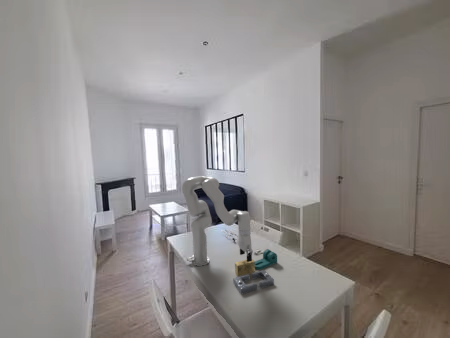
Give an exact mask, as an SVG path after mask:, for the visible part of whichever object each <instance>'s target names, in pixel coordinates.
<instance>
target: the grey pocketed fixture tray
mask: <svg viewBox="0 0 450 338" xmlns="http://www.w3.org/2000/svg"><path fill="white" fill-rule="evenodd" d="M250 274H251V276H250ZM250 278H251V279H252V280H255V279H257V278H258V279H259V278H262V281H259V283H258V284H257V282H255V283H252V284H248V285H246V283H245V282H246V281H250ZM232 279H233V280H232V282H233V285H234V287H235V288H236V289H237V291H239V294H241V295H243V294H247V293H249V292H253V291H256V290H258V287H259V289H262V288H267V287H270V286H273V285H274V284H275V281H274V278H273V277H272V276H271V275H270V274H269V272H267V271H266V270H265V269H261V270H257V271H255V272H252V273H249V274H245V275H241V276H236V277H233V278H232Z"/></svg>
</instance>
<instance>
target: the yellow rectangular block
mask: <svg viewBox="0 0 450 338" xmlns="http://www.w3.org/2000/svg"><path fill="white" fill-rule="evenodd" d="M255 261H256V260H254V259H253V258H252V261H250V262H247V259H245V260H240V261H236V262H234V274H235V275H236V277H239V276H243V275H247V274H249V275H250V274H251V273H254V272H256V270H255Z"/></svg>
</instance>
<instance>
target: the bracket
mask: <svg viewBox="0 0 450 338" xmlns="http://www.w3.org/2000/svg"><path fill="white" fill-rule="evenodd" d="M254 261H255V271H262V270H264V269H265V268H267V267H270V266H272V265H275V264H277V263H278V255H277V253H276V252H274V251H272V250H271V249H268V248H267V249H265V250H264V251H263V254H262V258H261V259H258V260H254Z"/></svg>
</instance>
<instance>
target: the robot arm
mask: <svg viewBox="0 0 450 338" xmlns="http://www.w3.org/2000/svg"><path fill="white" fill-rule="evenodd" d="M219 187H220V182H219V180H218V179H217V178H215V177H211V176H203V175H199V176H192V177H189V178H187V179H185V180H184V182H183V183H182V186H181V191H182V195H183V196H184V199H185V203H186V206H187V210H188V213H189V215H190V217H193V218H194V217H196V218H194V219H193V220H192V221H191V223H190V229H191V230H190V231H191V234H192V235H191V236H192V246H193V247H192V248H193V249H192V252H193V254H192V256H191V257H186V261H187V262H189V263H191V265H192V266H195V265H197V266H196V267H203V266H202V265H204V266H206V265H208V264H209V263H210V258H209V257H208V245H207V243H208V242H207V233H206V231H205V230H207V228H209V227H210V226H211V224H212V222H213V220H212V215H211V213H210V209H209V208H210V207H209V205H208V203H207V202H206V201H204V200H202V199H199V198H198V195H197V193H196V192H195V190H198V189H202V190H203V192H204V193H205V194H206V196H207V197H208V198H209V199H210V200H211V201H212V203H213V205H214V210H215V213H216V215H217V217H218V218H219V219H220V220H221V222H222V223H223V224H224V225H226V226H230V227H231V226H232V225H234V224H235V223H238V224H237V227H238V228H237V229H238V230H237V231H238V235H237V236H238V237H237V240H238V244H237V245H238V248H239V255H240V256H242V255H245V254H246V260H247V262H250V261H252V259H253V257H252V256H253V251H254V250H253V249H252V248H253V247H252V237H251V232H252V231H251V215H250V211H247V210H244V211H243V210H239V209H231V210H230V211H228V209H227V208H226V206H225V204H224V200H225V199H224V198H225V195H224V193H223V192H222V191H221V190H220V189H219Z"/></svg>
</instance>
